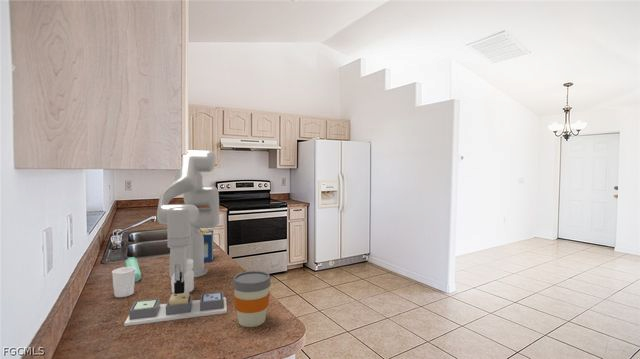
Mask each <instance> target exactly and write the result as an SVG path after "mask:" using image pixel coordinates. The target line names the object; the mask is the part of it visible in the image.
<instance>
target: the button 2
mask: <svg viewBox="0 0 640 359" xmlns="http://www.w3.org/2000/svg"><path fill="white" fill-rule="evenodd" d="M189 295H190V292H188V293H181V294H174V293H172V294H171V295H170V297H171V298H170V300H169V306H170V305H179V304H188V303H189Z"/></svg>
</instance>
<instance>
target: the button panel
mask: <svg viewBox="0 0 640 359" xmlns="http://www.w3.org/2000/svg"><path fill="white" fill-rule="evenodd" d="M216 293H221V300H214V301H205V302H203V298H204V295H207V294H216ZM170 298H171V296H170V297H168V299H167V303H161V298H151V299H144V300H135V301H133V304H132V306H131V307H130V309H129V313H128V316H127V317H126V320H125V321H124V323H123V326H124V327H128V326H136V325H144V324H151V323H159V322H166V321H175V320H176V321H177V320H182V319H191V318H198V317H206V316H213V315H223V314H227V313H228V310H227V296H224V291H217V292H216V291H215V292H206V293H201V294H200V299H197V300H196V299H195V300H193V294H189V303H188V304H179V305H170V306H169V300H170ZM151 300H156V305H155V307H153V308H144V309H136V310H133V309H134V307H135V306H136V304H137V302H142V301H151Z"/></svg>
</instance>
